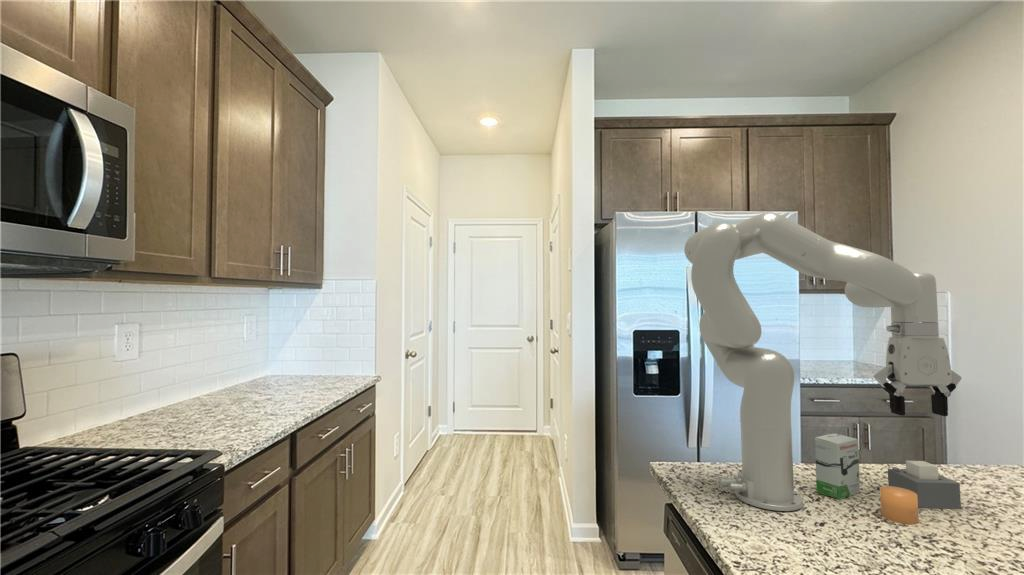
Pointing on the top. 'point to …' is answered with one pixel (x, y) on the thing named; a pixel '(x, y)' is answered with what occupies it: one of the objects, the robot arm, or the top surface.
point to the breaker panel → (928, 489)
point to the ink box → (837, 465)
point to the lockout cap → (899, 505)
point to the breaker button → (922, 470)
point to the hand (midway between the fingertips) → (918, 413)
